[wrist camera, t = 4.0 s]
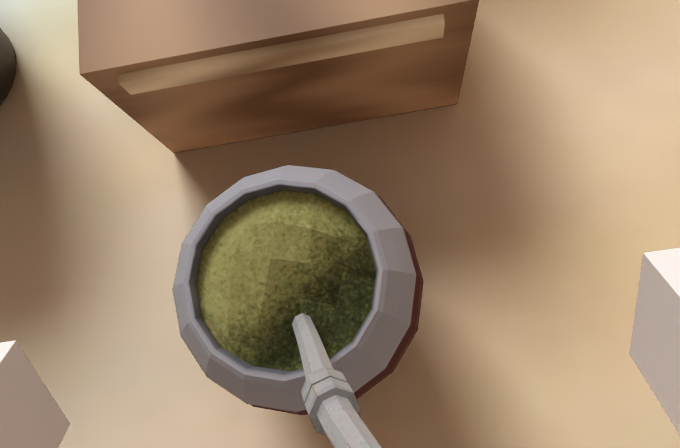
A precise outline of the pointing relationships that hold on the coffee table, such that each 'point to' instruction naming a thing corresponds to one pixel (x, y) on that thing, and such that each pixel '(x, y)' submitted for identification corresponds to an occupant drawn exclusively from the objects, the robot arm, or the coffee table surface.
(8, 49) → the mug
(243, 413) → the coffee table surface
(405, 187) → the coffee table surface
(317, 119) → the tan block with ledge
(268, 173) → the mate gourd
